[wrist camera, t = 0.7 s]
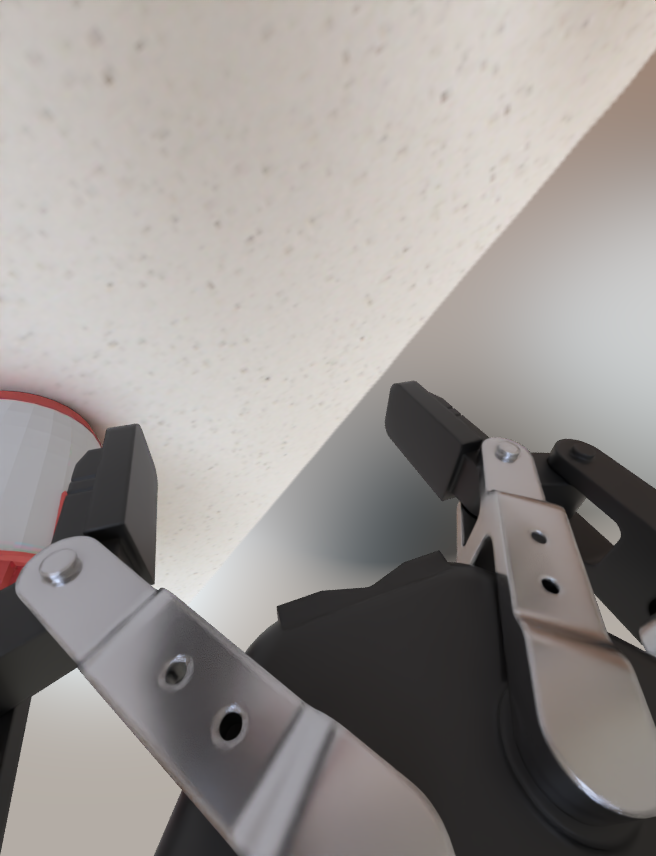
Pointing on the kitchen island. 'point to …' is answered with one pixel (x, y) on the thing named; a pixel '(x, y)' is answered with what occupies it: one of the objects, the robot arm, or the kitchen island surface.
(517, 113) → the kitchen island surface
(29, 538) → the citrus juicer
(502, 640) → the robot arm
